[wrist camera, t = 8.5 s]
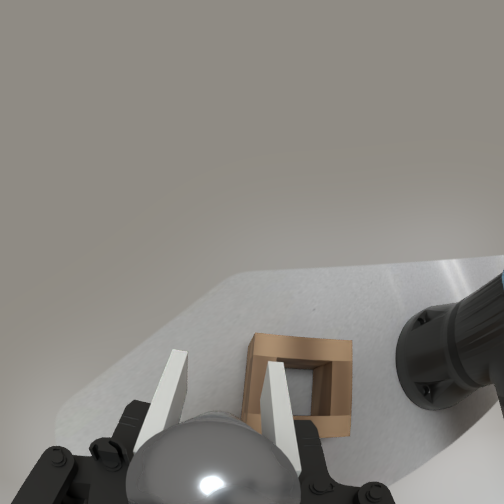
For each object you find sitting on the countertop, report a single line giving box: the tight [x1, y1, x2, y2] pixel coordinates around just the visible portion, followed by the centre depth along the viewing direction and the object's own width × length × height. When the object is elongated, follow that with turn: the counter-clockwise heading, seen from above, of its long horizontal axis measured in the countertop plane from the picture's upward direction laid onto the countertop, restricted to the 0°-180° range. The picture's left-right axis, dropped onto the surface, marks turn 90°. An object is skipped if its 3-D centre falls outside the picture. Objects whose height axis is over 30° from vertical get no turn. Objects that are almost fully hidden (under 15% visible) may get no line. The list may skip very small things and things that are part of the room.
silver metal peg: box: [126, 411, 301, 504], centre depth 10 cm, size 4×4×12 cm
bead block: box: [241, 333, 352, 438], centre depth 27 cm, size 10×10×6 cm
